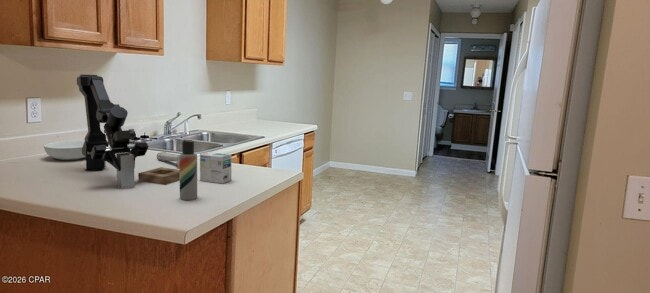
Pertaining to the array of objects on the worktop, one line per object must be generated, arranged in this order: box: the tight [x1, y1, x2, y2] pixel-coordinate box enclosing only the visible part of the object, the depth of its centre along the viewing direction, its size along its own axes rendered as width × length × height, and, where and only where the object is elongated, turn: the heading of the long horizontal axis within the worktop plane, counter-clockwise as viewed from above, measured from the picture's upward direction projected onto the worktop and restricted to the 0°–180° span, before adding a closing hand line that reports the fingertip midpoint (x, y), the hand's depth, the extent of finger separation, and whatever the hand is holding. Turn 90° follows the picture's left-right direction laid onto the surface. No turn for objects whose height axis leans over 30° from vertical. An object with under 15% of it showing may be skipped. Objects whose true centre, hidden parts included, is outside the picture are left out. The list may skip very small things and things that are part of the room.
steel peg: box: [115, 153, 135, 190], centre depth 159 cm, size 4×4×12 cm
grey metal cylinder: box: [156, 151, 180, 169], centre depth 201 cm, size 5×7×25 cm
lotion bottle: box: [178, 139, 198, 201], centre depth 147 cm, size 6×6×20 cm
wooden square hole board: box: [137, 166, 180, 186], centre depth 172 cm, size 12×12×3 cm
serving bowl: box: [43, 140, 89, 161], centre depth 203 cm, size 21×21×7 cm
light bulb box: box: [199, 151, 232, 184], centre depth 173 cm, size 11×7×11 cm, turn 71°
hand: (126, 169), depth 158 cm, fingers closed on steel peg, 4 cm apart
